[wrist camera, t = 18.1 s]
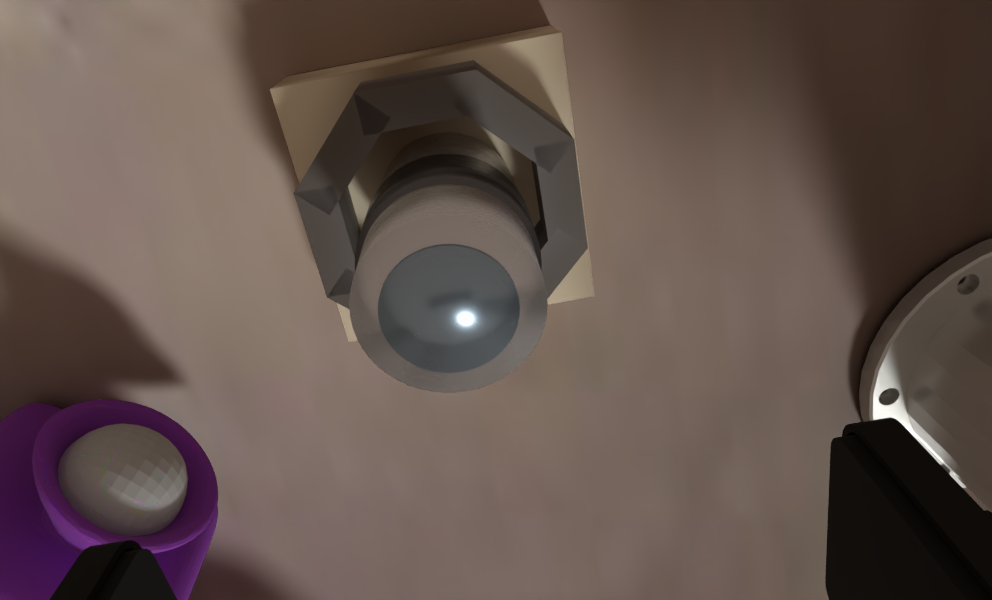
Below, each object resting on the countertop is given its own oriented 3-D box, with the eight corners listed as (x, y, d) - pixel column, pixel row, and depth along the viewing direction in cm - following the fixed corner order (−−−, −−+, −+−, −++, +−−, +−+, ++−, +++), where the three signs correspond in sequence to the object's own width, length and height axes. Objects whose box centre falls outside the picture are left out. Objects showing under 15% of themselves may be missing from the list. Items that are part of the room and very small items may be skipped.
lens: (507, 114, 22) (537, 191, 15) (531, 253, 24) (568, 380, 17) (358, 143, 22) (314, 234, 15) (394, 278, 24) (372, 417, 17)
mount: (550, 25, 23) (572, 39, 19) (582, 267, 27) (606, 321, 23) (286, 76, 23) (253, 101, 19) (356, 310, 27) (341, 371, 23)
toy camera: (286, 413, 29) (217, 613, 20) (169, 616, 34) (72, 850, 25) (19, 300, 26) (-200, 476, 17) (-69, 539, 31) (-276, 775, 22)
